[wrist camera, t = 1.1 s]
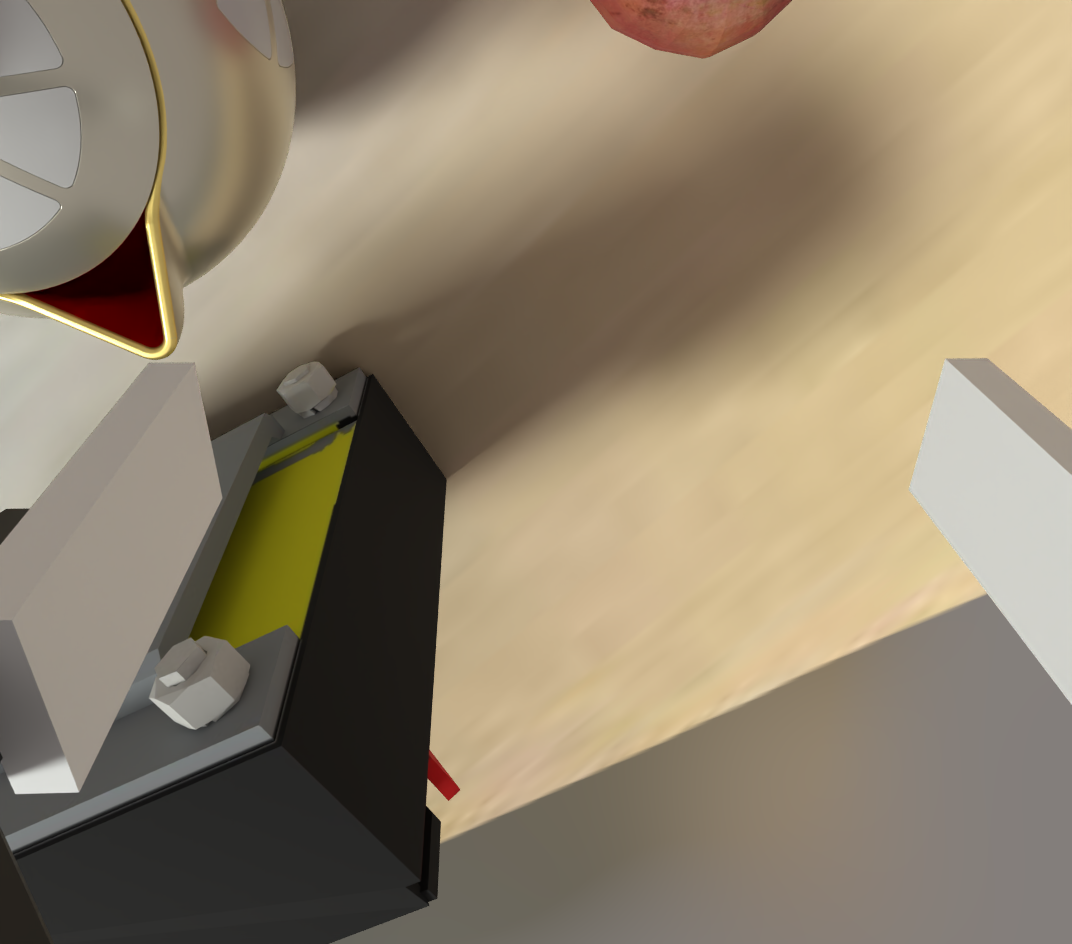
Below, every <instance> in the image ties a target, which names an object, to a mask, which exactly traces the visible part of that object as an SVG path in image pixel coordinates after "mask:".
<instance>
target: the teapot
mask: <svg viewBox="0 0 1072 944" xmlns="http://www.w3.org/2000/svg"><path fill="white" fill-rule="evenodd" d="M295 104H296V77H295V63H294V54H293V47H292V40H291V35H290V30H289V26H288V21H287V17H286V13H285V10H284V6H283V3H282V0H0V314H5V315H11V316H20V317H30V318H47V319H53V320H56V321H58V322H61V323H63V324H65V325H68V326H70V327H72V328H75V329H77V330H79V331H82V332H84V333H87V334H89V335H91V336H94V337H96V338H98V339H101V340H103V341H105V342H108V343H110V344H113V345H115V346H117V347H120V348H122V349H124V350H127V351H129V352H131V353H134V354H136V355H138V356H141V357H143V358H146V359H151V360H158V359H163V358H166V357H168V356H169V355H170V354H172V352H173V351H174V350H175V348H176V346H177V344H178V342H179V339H180V336H181V333H182V329H183V322H184V300H183V288H184V287H186V286H187V285H189V284H191V283H192V282H194V281H196V280H197V279H199V278H200V277H202V276H203V275H205V274H206V273H207V272H209V271H210V270H211V269H213V268H214V267H215V266H216V265H218V264H219V263H220V262H221V261H222V260H223V259H224V258H225V257H227V256H228V255H229V254H230V253H231V252H232V251H233V250H234V249H235V248H236V247H237V246H238V245H239V244H240V242H241V241H242V240H243V239H244V238H245V236H246V235H247V234H248V233H249V231H250V230H251V229H252V228H253V226H254V225H255V224H256V222H257V221H258V219H259V218H260V216H261V215H262V213H263V211H264V210H265V208H266V206H267V204H268V203H269V201H270V199H271V197H272V195H273V192H274V190H275V188H276V186H277V184H278V182H279V179H280V176H281V174H282V171H283V168H284V165H285V162H286V158H287V155H288V151H289V146H290V142H291V137H292V131H293V125H294V118H295Z"/></svg>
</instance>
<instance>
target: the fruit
mask: <svg viewBox="0 0 1072 944" xmlns="http://www.w3.org/2000/svg"><path fill="white" fill-rule="evenodd" d="M590 1H591V2H592V4H593V5H594V6H595V7H596V9H597V10H598V11H599V13H600V14H601V15H602V17H603V18H604V19H605V20H606V22H607V23H608V24H609V26H610V27H611V28H612V29H614V30H616V31H618V32H620V33H622V34H624V35H626V36H628V37H630V38H632V39H635V40H637V41H639V42H641V43H643V44H645V45H647V46H649V47H651V48H653V49H655V50H661V51H666V52H671V53H677V54H682V55H687V56H692V57H698V58H707V57H710V56H712V55H714V54H717V53H719V52H721V51H723V50H725V49H727V48H729V47H731V46H733V45H735V44H738V43H740V42H742V41H744V40H746V39H748V38H750V37H752V36H754V35H755V34H757V33H758V32H760V31H761V30H762V29H763V28H764V27H765V26H766V25H767V24H768V23H769V22H770V21H771V20H772V19H773V18H774V17H775V16H776V15H777V14H778V13H779V12H781V11H782V10H783V9H784V8H785V7H786V6H787V5H788V4H789V3H790V2H791V1H792V0H590Z"/></svg>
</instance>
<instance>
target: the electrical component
mask: <svg viewBox="0 0 1072 944" xmlns="http://www.w3.org/2000/svg"><path fill="white" fill-rule="evenodd" d="M277 392H278V393H279V394H280V396H281V397H282V398H283V399H284V401H285V402H286V403H287V406H285V407H283V408H281V409H279V410H277V411H275V412H274V413H272V414H270V415H268V414H266V413H263V414H261V415H260V416H258V417H256V418H254V419H252V420H250V421H248V422H246V423H244V424H243V425H241V426H239V427H237V428H235V429H233V430H231V431H229V432H227V433H226V434H224V435H222V436H220V437H218V438H216V439H214V440H212V441H211V444H212V449H213V454H214V459H215V464H216V469H217V473H218V478H219V483H220V488H221V493H222V500H221V502H220V504H219V506H218V508H217V510H216V512H215V514H214V516H213V518H212V520H211V523H210V525H209V527H208V529H207V531H206V533H205V535H204V537H203V539H202V541H201V543H200V545H199V547H198V549H197V551H196V553H195V555H194V557H193V560H192V562H191V564H190V566H189V568H188V570H187V572H186V574H185V576H184V578H183V580H182V582H181V584H180V586H179V588H178V590H177V592H176V594H175V597H174V599H173V601H172V603H171V605H170V607H169V609H168V611H167V613H166V615H165V617H164V619H163V621H162V623H161V625H160V627H159V629H158V631H157V634H156V636H155V638H154V640H153V642H152V644H151V646H150V648H149V650H148V652H147V654H146V656H145V658H144V660H143V662H142V664H141V666H140V668H139V671H138V673H137V675H136V677H135V679H134V681H133V683H132V685H131V687H130V689H129V691H128V693H127V695H126V697H125V699H124V701H123V703H122V705H121V708H120V710H119V712H118V714H117V716H116V718H115V720H114V722H113V724H112V726H111V728H110V730H109V732H108V734H107V736H106V738H105V740H104V742H103V745H102V747H101V749H100V751H99V753H98V755H97V757H96V759H95V761H94V763H93V765H92V767H91V769H90V771H89V773H88V775H87V777H86V779H85V782H84V784H83V786H82V788H81V790H80V792H76V793H37V794H15V792H14V790H13V788H12V786H11V784H10V781H9V779H8V777H7V775H6V772H5V770H4V768H3V766H2V763H1V762H0V827H1V829H2V831H3V833H4V836H5V838H6V840H7V842H8V844H9V846H10V849H11V851H12V853H13V855H14V857H15V860H16V862H17V864H18V866H19V868H20V870H21V873H22V875H23V877H24V879H25V881H26V884H27V886H28V888H29V890H30V892H31V894H32V897H33V899H34V901H35V903H36V905H37V908H38V910H39V912H40V914H41V916H42V918H43V921H44V923H45V925H46V927H47V929H48V932H49V934H50V936H51V938H52V940H53V942H54V944H329V943H332V942H334V941H337V940H340V939H342V938H345V937H347V936H350V935H353V934H356V933H358V932H361V931H364V930H366V929H369V928H371V927H374V926H377V925H379V924H382V923H384V922H387V921H390V920H392V919H395V918H398V917H401V916H403V915H406V914H408V913H411V912H414V911H416V910H419V909H422V908H424V907H427V906H429V903H428V902H429V901H432V900H434V899H437V894H438V872H439V849H440V848H439V847H440V828H441V821H440V820H439V819H438V818H437V817H436V816H435V815H434V814H433V813H432V812H431V811H430V809H429V808H428V807H427V806H426V794H427V778H428V779H429V780H430V781H431V782H432V783H433V785H434V786H435V787H436V788H437V789H438V790H439V791H440V792H441V793H442V794H443V795H444V796H445V797H446V799H447V800H448V801H449V800H450V799H451V798H452V797H453V796H454V795H455V794H456V793H458V792H459V791H460V789H459V787H458V786H457V785H456V783H455V782H454V781H453V780H452V778H451V777H450V776H449V774H448V773H447V772H446V770H445V769H444V768H443V767H442V765H441V764H440V763H439V761H438V760H437V759H436V757H435V756H434V755H433V754H432V752H431V751H430V750H429V746H430V731H431V715H432V699H433V684H434V668H435V652H436V636H437V621H438V605H439V589H440V574H441V558H442V542H443V526H444V511H445V495H446V478H445V477H444V475H443V474H442V472H441V471H440V469H439V468H438V467H437V465H436V464H435V462H434V461H433V459H432V458H431V457H430V455H429V454H428V452H427V451H426V449H425V448H424V447H423V445H422V444H421V442H420V441H419V439H418V438H417V437H416V435H415V434H414V432H413V431H412V429H411V428H410V427H409V425H408V424H407V422H406V421H405V419H404V418H403V416H402V415H401V414H400V412H399V411H398V409H397V408H396V406H395V405H394V404H393V402H392V401H391V399H390V398H389V396H388V395H387V394H386V392H385V391H384V389H383V388H382V386H381V385H380V384H379V382H378V381H377V379H376V378H375V376H374V375H373V374H372V375H370V376H368V377H366V376H365V375H364V373H363V372H362V370H361V369H360V367H359V368H357V369H355V370H353V371H351V372H349V373H348V374H346V375H344V376H342V377H340V378H338V379H336V380H333V378H332V377H331V376H330V374H329V373H328V371H327V370H326V369H325V367H324V366H323V365H322V364H320V363H319V362H314V361H313V362H311V363H308V364H304V365H300V366H299V367H297V368H296V369H294V370H293V371H291V372H290V373H288V374H287V376H286V378H285V379H283V381H282V382H281V384H280V386H279V387H278V389H277Z"/></svg>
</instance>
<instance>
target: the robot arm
mask: <svg viewBox="0 0 1072 944" xmlns="http://www.w3.org/2000/svg"><path fill="white" fill-rule="evenodd" d="M909 491H910V492H911V493H912V495H913V496H914V497H915V499H916V500H917V501H918V502H919V504H920V505H921V506H922V508H923V509H924V510H925V512H926V513H927V514H928V516H929V517H930V518H931V520H932V521H933V522H934V524H935V525H936V526H937V528H938V529H939V530H940V532H941V533H942V534H943V535H944V537H945V538H946V539H947V541H948V542H949V543H950V545H951V546H952V547H953V549H954V550H955V551H956V553H957V554H958V555H959V557H960V558H961V559H962V561H963V562H964V563H965V564H966V566H967V567H968V568H969V570H970V571H971V572H972V574H973V575H974V576H975V578H976V579H977V580H978V582H979V583H980V584H981V586H982V587H983V588H984V590H985V591H986V592H987V594H988V595H989V596H990V597H991V599H992V600H993V601H994V603H995V604H996V605H997V607H998V608H999V609H1000V611H1001V612H1002V613H1003V614H1004V616H1005V617H1006V618H1007V620H1008V621H1009V623H1010V624H1011V625H1012V626H1013V628H1014V629H1015V630H1016V632H1017V633H1018V634H1019V636H1020V637H1021V638H1022V640H1023V641H1024V642H1025V644H1026V645H1027V646H1028V648H1029V649H1030V650H1031V652H1032V653H1033V654H1034V655H1035V657H1036V658H1037V659H1038V661H1039V662H1040V663H1041V665H1042V666H1043V667H1044V669H1045V670H1046V671H1047V673H1048V674H1049V675H1050V677H1051V678H1052V679H1053V680H1054V682H1055V683H1056V684H1057V686H1058V687H1059V689H1060V690H1061V691H1062V692H1063V694H1064V695H1065V696H1066V698H1067V699H1068V700H1069V702H1070V703H1071V704H1072V429H1070V428H1069V427H1068V426H1067V425H1066V424H1064V423H1063V422H1062V421H1061V420H1060V419H1059V418H1057V417H1056V416H1055V415H1054V414H1053V413H1051V412H1050V411H1049V410H1048V409H1047V408H1046V407H1044V406H1043V405H1042V404H1041V403H1040V402H1038V401H1037V400H1036V399H1035V398H1034V397H1033V396H1031V395H1030V394H1029V393H1028V392H1027V391H1025V390H1024V389H1023V388H1022V387H1021V386H1019V385H1018V384H1017V383H1016V382H1015V381H1014V380H1012V379H1011V378H1010V377H1009V376H1008V375H1006V374H1005V373H1004V372H1003V371H1002V370H1001V369H999V368H998V367H997V366H996V365H995V364H993V363H992V362H991V361H990V360H989V359H987V358H980V359H945V362H944V365H943V369H942V372H941V376H940V380H939V383H938V387H937V390H936V394H935V397H934V401H933V405H932V408H931V412H930V415H929V419H928V423H927V426H926V430H925V433H924V437H923V441H922V444H921V448H920V451H919V455H918V459H917V462H916V466H915V469H914V473H913V477H912V480H911V484H910V487H909ZM221 500H222V493H221V488H220V483H219V478H218V473H217V469H216V464H215V459H214V454H213V449H212V444H211V440H210V435H209V430H208V425H207V420H206V415H205V411H204V406H203V401H202V396H201V391H200V386H199V382H198V377H197V372H196V367H195V363H149V364H148V365H147V366H146V367H145V368H144V370H143V371H142V372H141V373H140V375H139V376H138V377H137V378H136V379H135V381H134V382H133V383H132V384H131V386H130V387H129V388H128V389H127V390H126V392H125V393H124V394H123V395H122V397H121V398H120V399H119V400H118V401H117V403H116V404H115V405H114V406H113V408H112V409H111V410H110V411H109V413H108V414H107V415H106V416H105V417H104V419H103V420H102V421H101V422H100V424H99V425H98V426H97V427H96V428H95V430H94V431H93V432H92V433H91V435H90V436H89V437H88V438H87V439H86V441H85V442H84V443H83V444H82V446H81V447H80V448H79V449H78V450H77V452H76V453H75V454H74V455H73V457H72V458H71V459H70V460H69V461H68V463H67V464H66V465H65V466H64V468H63V469H62V470H61V471H60V473H59V474H58V475H57V476H56V477H55V479H54V480H53V481H52V482H51V484H50V485H49V486H48V487H47V488H46V490H45V491H44V492H43V493H42V495H41V496H40V497H39V498H38V499H37V501H36V502H35V503H34V504H33V506H32V507H31V508H30V509H6V510H4V511H2V512H1V513H0V762H1V763H2V766H3V768H4V770H5V772H6V775H7V777H8V779H9V781H10V784H11V786H12V788H13V790H14V792H15V794H37V793H76V792H80V790H81V788H82V786H83V784H84V782H85V779H86V777H87V775H88V773H89V771H90V769H91V767H92V765H93V763H94V761H95V759H96V757H97V755H98V753H99V751H100V749H101V747H102V745H103V742H104V740H105V738H106V736H107V734H108V732H109V730H110V728H111V726H112V724H113V722H114V720H115V718H116V716H117V714H118V712H119V710H120V708H121V705H122V703H123V701H124V699H125V697H126V695H127V693H128V691H129V689H130V687H131V685H132V683H133V681H134V679H135V677H136V675H137V673H138V671H139V668H140V666H141V664H142V662H143V660H144V658H145V656H146V654H147V652H148V650H149V648H150V646H151V644H152V642H153V640H154V638H155V636H156V634H157V631H158V629H159V627H160V625H161V623H162V621H163V619H164V617H165V615H166V613H167V611H168V609H169V607H170V605H171V603H172V601H173V599H174V597H175V594H176V592H177V590H178V588H179V586H180V584H181V582H182V580H183V578H184V576H185V574H186V572H187V570H188V568H189V566H190V564H191V562H192V560H193V557H194V555H195V553H196V551H197V549H198V547H199V545H200V543H201V541H202V539H203V537H204V535H205V533H206V531H207V529H208V527H209V525H210V523H211V520H212V518H213V516H214V514H215V512H216V510H217V508H218V506H219V504H220V502H221ZM0 944H54V942H53V940H52V938H51V936H50V934H49V932H48V929H47V927H46V925H45V923H44V921H43V918H42V916H41V914H40V912H39V910H38V908H37V905H36V903H35V901H34V899H33V897H32V894H31V892H30V890H29V888H28V886H27V884H26V881H25V879H24V877H23V875H22V873H21V870H20V868H19V866H18V864H17V862H16V860H15V857H14V855H13V853H12V851H11V849H10V846H9V844H8V842H7V840H6V838H5V836H4V833H3V831H2V829H1V827H0Z"/></svg>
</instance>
